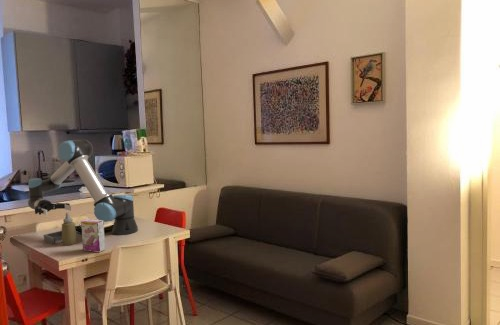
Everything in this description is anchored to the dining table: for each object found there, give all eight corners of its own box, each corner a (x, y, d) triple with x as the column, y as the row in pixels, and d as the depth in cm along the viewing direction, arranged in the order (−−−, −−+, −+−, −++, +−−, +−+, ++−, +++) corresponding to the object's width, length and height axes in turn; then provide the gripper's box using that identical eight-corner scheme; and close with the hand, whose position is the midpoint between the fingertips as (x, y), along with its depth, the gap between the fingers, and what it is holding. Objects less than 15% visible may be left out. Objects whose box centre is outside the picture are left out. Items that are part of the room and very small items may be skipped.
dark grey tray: (44, 240, 248) (43, 234, 248) (65, 235, 258) (65, 229, 257) (53, 244, 239) (53, 238, 239) (76, 239, 249) (75, 233, 249)
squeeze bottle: (65, 242, 243) (62, 211, 242) (79, 241, 244) (76, 210, 242) (60, 246, 235) (57, 214, 234) (74, 245, 236) (72, 214, 234)
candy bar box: (82, 251, 225) (80, 221, 223) (89, 248, 230) (86, 219, 228) (99, 252, 222) (97, 222, 220) (106, 249, 226) (103, 219, 224)
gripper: (63, 207, 268) (79, 212, 254) (22, 215, 250) (36, 221, 236) (63, 196, 267) (79, 200, 253) (21, 203, 249) (35, 207, 235)
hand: (58, 210), depth 245 cm, fingers open, 13 cm apart
